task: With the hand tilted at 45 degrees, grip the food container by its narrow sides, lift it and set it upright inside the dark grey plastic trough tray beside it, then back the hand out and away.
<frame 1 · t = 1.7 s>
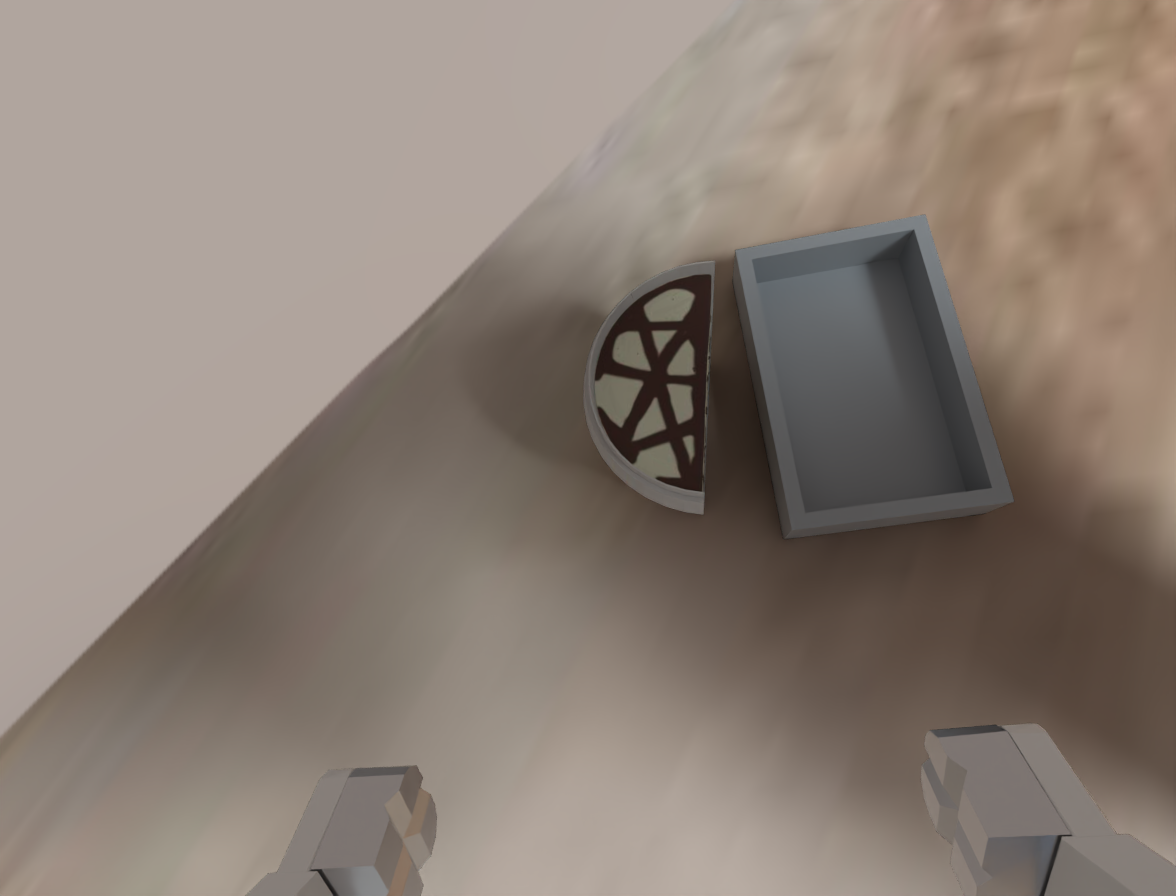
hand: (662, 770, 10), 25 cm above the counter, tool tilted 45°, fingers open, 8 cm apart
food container: (655, 434, 39), on the counter
tray: (847, 387, 37), on the counter
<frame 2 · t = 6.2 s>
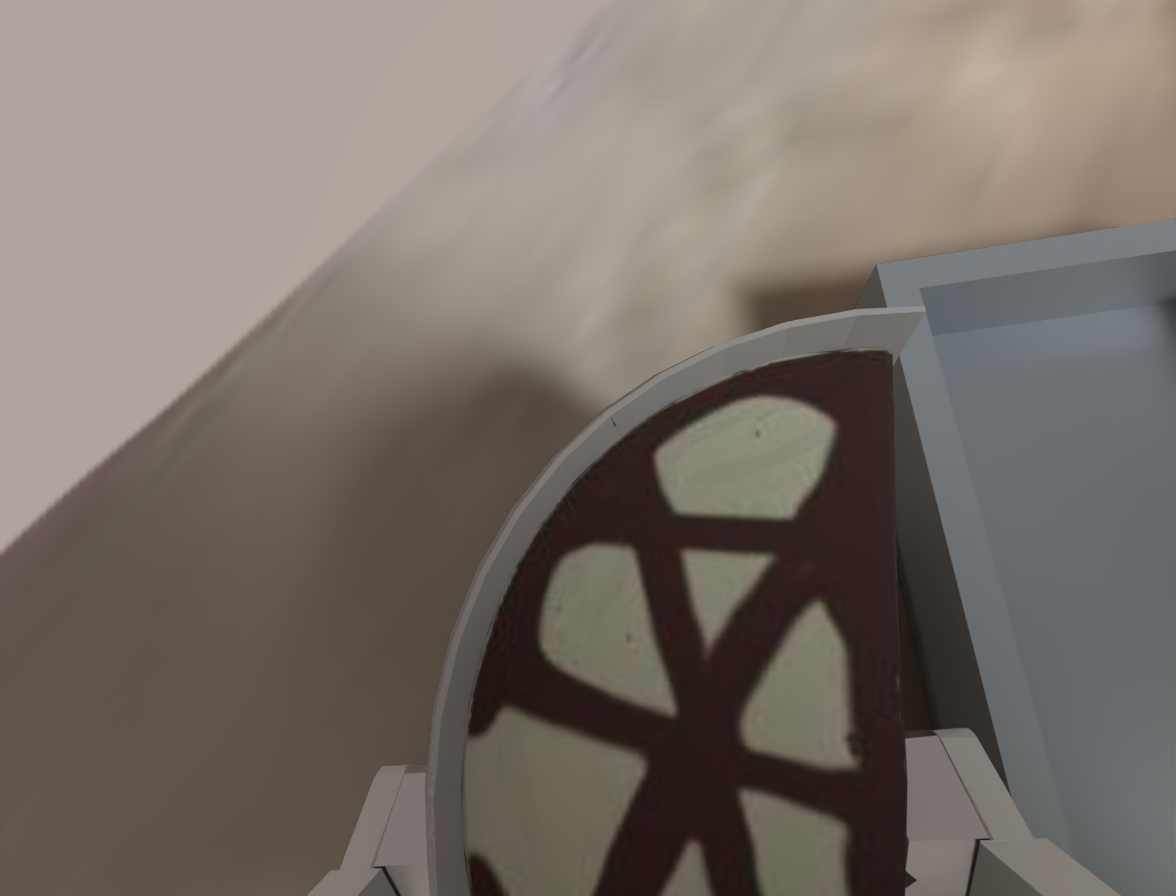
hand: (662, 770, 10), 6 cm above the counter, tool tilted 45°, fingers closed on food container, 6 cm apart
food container: (670, 683, 17), on the counter, touching gripper
tray: (1136, 603, 15), on the counter
when the fingers open (9 cm above the counter, at t = 12.0 s): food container stays where it is, resting on tray.
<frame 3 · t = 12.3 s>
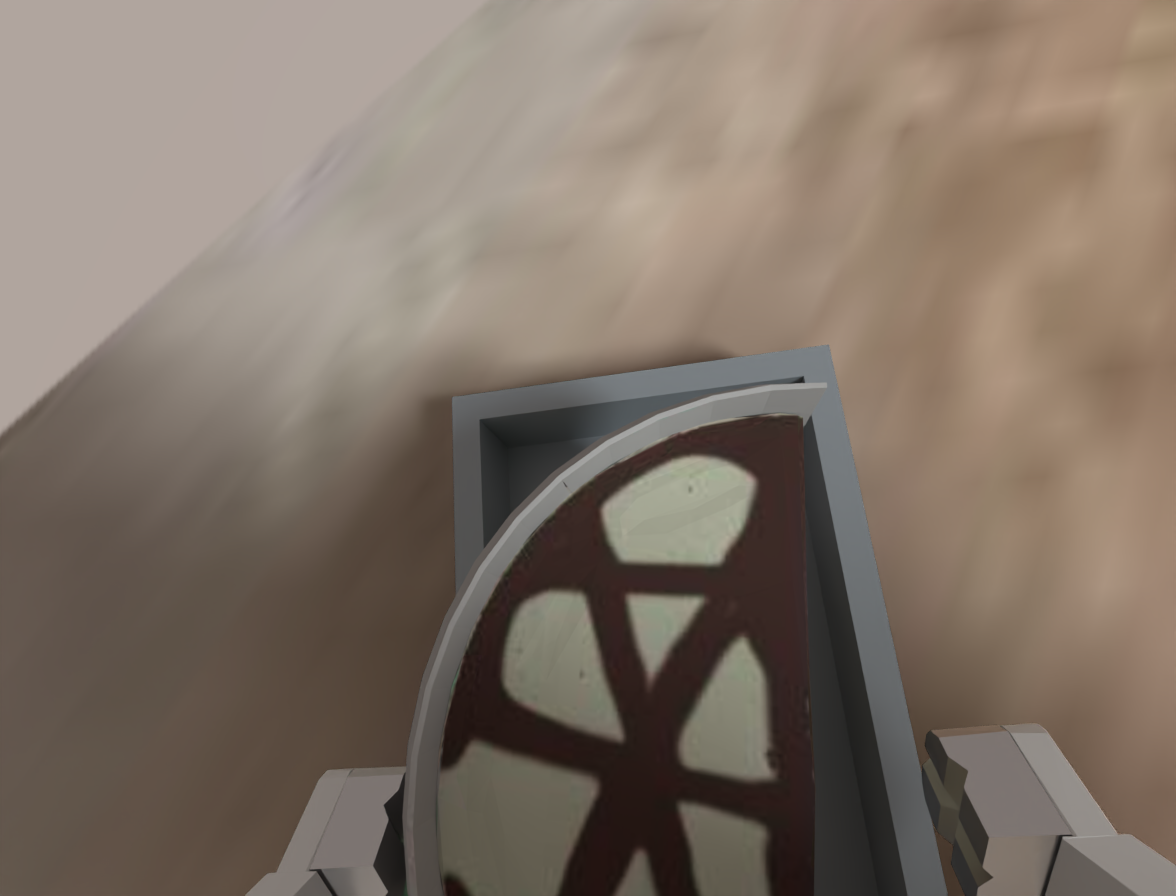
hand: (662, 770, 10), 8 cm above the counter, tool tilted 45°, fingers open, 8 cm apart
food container: (620, 696, 18), point 1 cm above the counter, touching gripper, tray
tray: (672, 678, 18), on the counter
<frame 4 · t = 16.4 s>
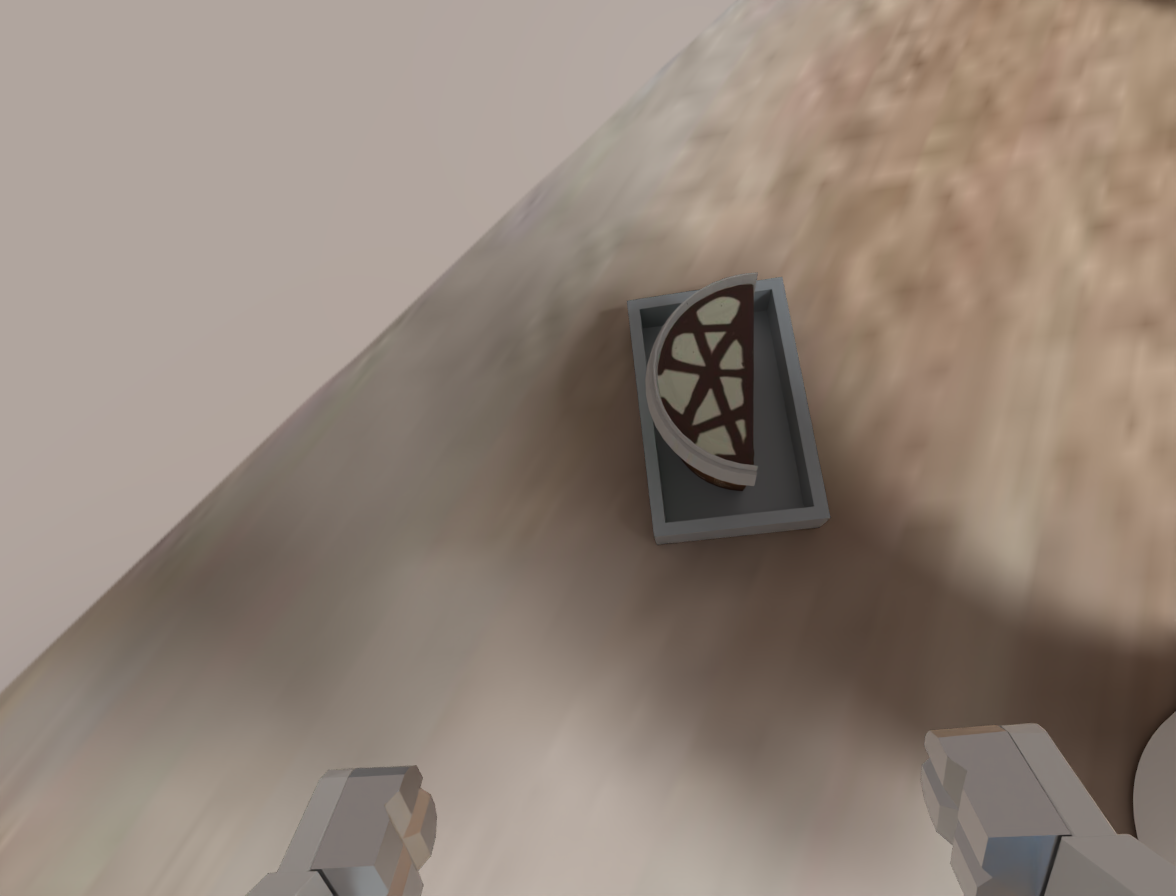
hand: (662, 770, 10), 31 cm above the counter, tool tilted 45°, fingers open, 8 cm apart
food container: (697, 424, 44), resting on tray
tray: (718, 418, 44), on the counter
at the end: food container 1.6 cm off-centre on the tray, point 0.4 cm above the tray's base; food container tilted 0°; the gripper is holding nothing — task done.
